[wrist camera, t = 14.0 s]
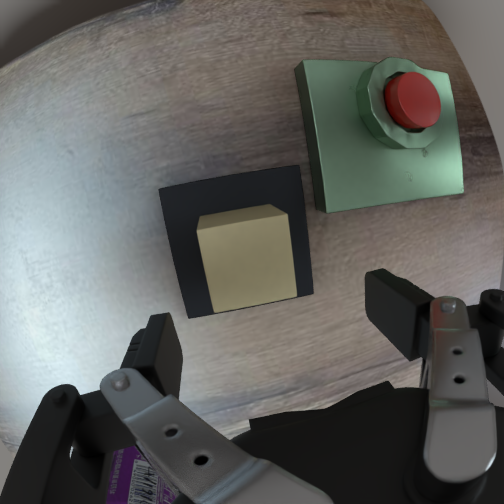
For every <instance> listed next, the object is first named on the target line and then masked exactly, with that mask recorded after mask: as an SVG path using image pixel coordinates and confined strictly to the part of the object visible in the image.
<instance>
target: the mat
mask: <svg viewBox="0 0 504 504" xmlns="http://www.w3.org/2000/svg"><path fill="white" fill-rule="evenodd" d="M159 195H160V200H161V205H162V210H163V215H164V220H165V225H166V229H167V234H168V239H169V243H170V248H171V252H172V256H173V261H174V265H175V269H176V273H177V277H178V281H179V285H180V289H181V293H182V297H183V301H184V304H185V308H186V312H187V316H188V318H189V319H190V318H196V317H202V316H207V315H213V314H218V313H224V312H229V311H234V310H240V309H245V308H250V307H255V306H260V305H265V304H269V303H274V302H279V301H284V300H288V299H293V298H297V297H302V296H306V295H311V294H314V291H313V279H312V269H311V258H310V248H309V239H308V230H307V221H306V213H305V204H304V196H303V189H302V181H301V174H300V167H299V165H294V166H287V167H279V168H272V169H265V170H259V171H252V172H246V173H240V174H233V175H228V176H222V177H216V178H211V179H205V180H200V181H195V182H190V183H185V184H180V185H175V186H170V187H165V188H161V189H159ZM267 204H271V205H272V206H274V207H276V208H278V209H279V210H281V211H283V212H284V213H286V214H287V215H288V222H289V230H290V238H291V246H292V254H293V263H294V271H295V281H296V290H297V297H293V298H288V299H284V300H279V301H274V302H269V303H264V304H259V305H254V306H249V307H244V308H239V309H234V310H228V311H223V312H218V313H214V310H213V306H212V301H211V297H210V293H209V288H208V283H207V279H206V274H205V270H204V265H203V260H202V255H201V250H200V246H199V241H198V236H197V227H198V222H199V218H200V216H204V215H210V214H215V213H220V212H226V211H232V210H237V209H243V208H249V207H255V206H261V205H267Z"/></svg>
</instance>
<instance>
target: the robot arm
mask: <svg viewBox="0 0 504 504" xmlns="http://www.w3.org/2000/svg"><path fill="white" fill-rule="evenodd" d="M365 310H366V314H367V317H368V319H369V320H370V321H371V322H372V323H373V324H374V325H375V326H376V327H377V328H378V329H379V330H380V331H381V332H382V333H383V334H384V335H385V336H386V337H387V338H388V340H389V341H390V342H391V343H392V344H393V345H394V346H395V347H396V348H397V349H398V350H399V351H400V352H401V353H402V354H403V355H404V356H405V357H406V358H407V359H408V360H409V361H413V360H415V359H417V358H420V357H422V358H423V360H422V365H421V374H420V383H419V388H414V387H405V388H396V389H394V387H393V386H392V385H391V383H390V382H389V381H385V382H383V383H380V384H377V385H374V386H372V387H369V388H366V389H363V390H360V391H357V392H356V393H354V394H352V395H350V396H348V397H347V398H345V399H343V400H341V401H339V402H338V403H336V404H334V405H332V406H330V407H328V408H325V409H318V410H306V411H290V412H282V413H278V414H273V415H269V416H264V417H259V418H254V419H249V423H250V428H251V430H249V431H246V432H244V433H242V434H240V435H238V436H236V437H234V438H233V439H231V440H228V439H227V438H226V437H224V436H223V435H222V434H220V433H219V432H218V431H216V430H215V429H214V428H212V427H211V426H210V425H209V424H207V423H206V422H205V421H204V420H202V419H201V418H200V417H199V416H197V415H196V414H195V413H194V412H192V411H191V410H190V409H189V408H188V407H186V406H185V405H184V404H183V403H182V402H180V401H179V391H180V382H181V373H182V364H183V355H182V349H181V345H180V342H179V339H178V336H177V333H176V330H175V326H174V323H173V320H172V317H171V315H170V313H169V312H168V313H162V314H156V315H151V316H150V318H149V321H148V324H147V326H146V328H144V329H140V330H139V331H138V332H137V333H136V334H135V335H134V336H133V337H132V340H131V342H130V345H129V347H128V350H127V352H126V354H125V357H124V359H123V362H122V364H121V367H120V369H118V370H115V371H113V372H111V373H109V374H108V375H106V376H105V377H104V378H103V379H102V381H101V383H100V390H97V391H94V392H90V393H87V394H83V395H80V394H79V392H78V390H77V389H76V387H75V386H73V385H70V384H63V385H59V386H56V387H54V388H52V389H51V390H49V391H48V392H47V393H46V394H45V395H44V397H43V399H42V401H41V403H40V405H39V407H38V409H37V411H36V413H35V415H34V417H33V419H32V421H31V423H30V425H29V427H28V429H27V432H26V434H25V436H24V438H23V440H22V443H21V445H20V447H19V449H18V452H17V454H16V456H15V459H14V461H13V464H12V466H11V469H10V471H9V474H8V476H7V479H6V482H5V485H4V487H3V490H2V493H1V496H0V504H106V499H107V492H108V485H109V478H110V471H111V465H112V459H113V453H114V451H117V450H121V449H124V448H128V447H131V446H135V447H136V449H137V450H138V451H139V453H140V454H141V455H142V456H143V458H144V459H145V460H146V461H147V463H148V464H149V465H150V466H151V467H152V469H153V470H154V471H155V472H156V473H157V475H158V476H159V477H160V478H161V479H162V480H163V482H164V483H165V484H166V485H167V486H168V487H169V489H170V490H171V491H172V492H173V493H174V494H175V495H176V498H175V499H174V501H173V502H172V503H171V504H504V408H503V407H498V406H494V405H493V403H490V402H489V398H488V388H487V380H486V378H487V379H488V380H489V381H490V382H491V383H492V384H493V385H494V386H495V387H496V388H497V389H498V390H499V391H500V392H501V394H502V395H503V396H504V348H503V347H501V344H502V340H503V337H504V291H502V290H498V289H488V290H485V291H483V292H482V293H481V296H480V302H479V304H477V305H471V306H466V304H465V303H464V302H463V301H462V300H461V299H459V298H456V297H451V296H442V297H438V298H435V297H433V296H432V295H430V294H428V293H427V292H425V291H424V290H422V289H420V288H419V287H418V286H416V285H414V284H413V283H411V282H410V281H408V280H407V279H403V278H400V277H397V276H395V275H393V274H392V273H390V272H389V271H387V270H385V269H384V268H382V269H378V270H374V271H370V272H367V273H366V275H365ZM71 446H72V447H73V451H72V455H71V458H70V450H71Z"/></svg>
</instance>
